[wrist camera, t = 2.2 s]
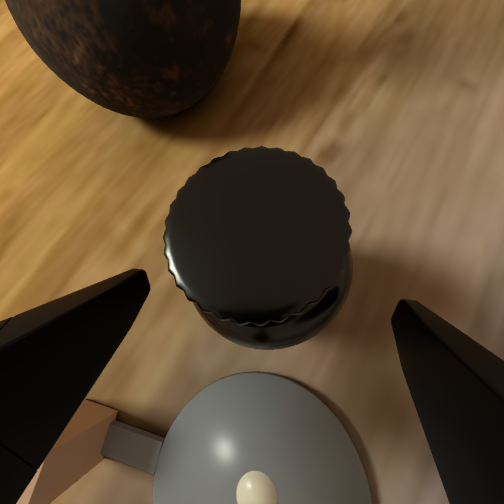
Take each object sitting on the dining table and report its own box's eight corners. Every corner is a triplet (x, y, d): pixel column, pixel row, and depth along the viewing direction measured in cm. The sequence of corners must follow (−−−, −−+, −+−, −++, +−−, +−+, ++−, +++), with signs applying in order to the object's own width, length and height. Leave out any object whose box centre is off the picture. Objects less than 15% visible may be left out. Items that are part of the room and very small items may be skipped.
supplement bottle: (293, 228, 18) (315, 76, 6) (337, 308, 16) (484, 293, 4) (216, 264, 18) (100, 177, 6) (250, 348, 16) (171, 441, 4)
